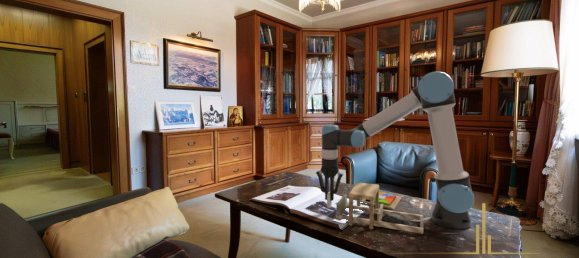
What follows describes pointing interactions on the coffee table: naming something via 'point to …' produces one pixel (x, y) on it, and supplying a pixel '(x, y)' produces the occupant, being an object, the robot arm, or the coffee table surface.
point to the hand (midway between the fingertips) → (329, 206)
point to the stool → (364, 193)
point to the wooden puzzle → (385, 200)
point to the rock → (395, 219)
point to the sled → (379, 217)
